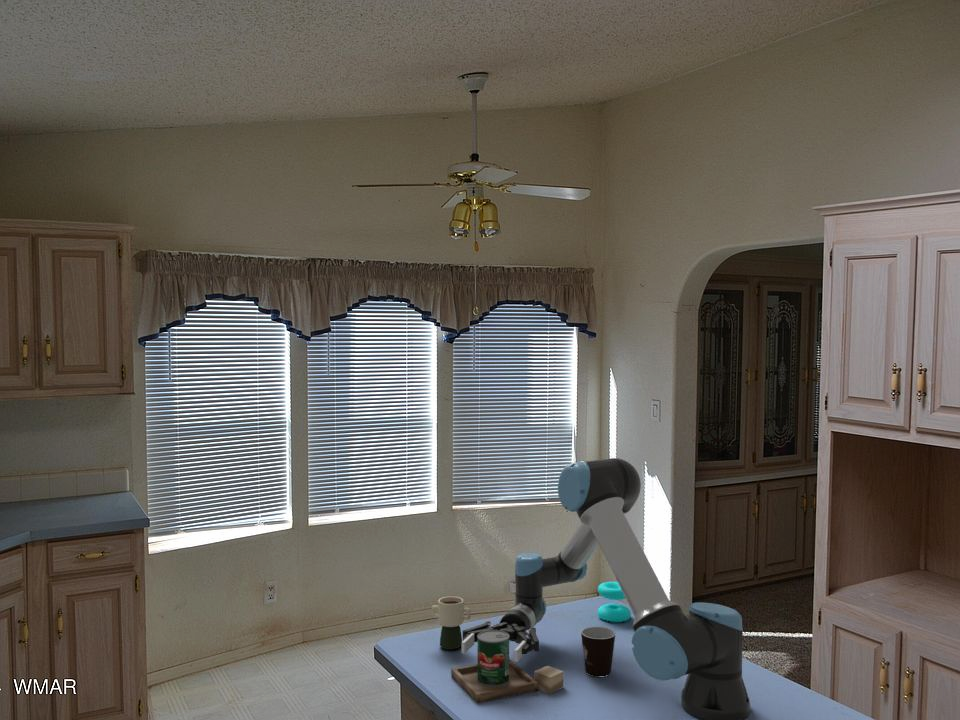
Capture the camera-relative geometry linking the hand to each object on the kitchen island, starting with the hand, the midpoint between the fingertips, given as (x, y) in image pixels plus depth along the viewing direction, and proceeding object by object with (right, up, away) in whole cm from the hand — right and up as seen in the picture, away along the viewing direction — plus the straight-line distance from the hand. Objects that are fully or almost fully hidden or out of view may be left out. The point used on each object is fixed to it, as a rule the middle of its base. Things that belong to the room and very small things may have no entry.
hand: (489, 651), depth 192 cm
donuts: (+39, -8, +50) cm, 64 cm away
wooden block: (+15, -9, +1) cm, 17 cm away
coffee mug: (+28, -9, +12) cm, 32 cm away
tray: (+1, -9, +3) cm, 10 cm away
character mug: (-10, -9, +27) cm, 30 cm away
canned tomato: (+1, -8, +3) cm, 9 cm away
